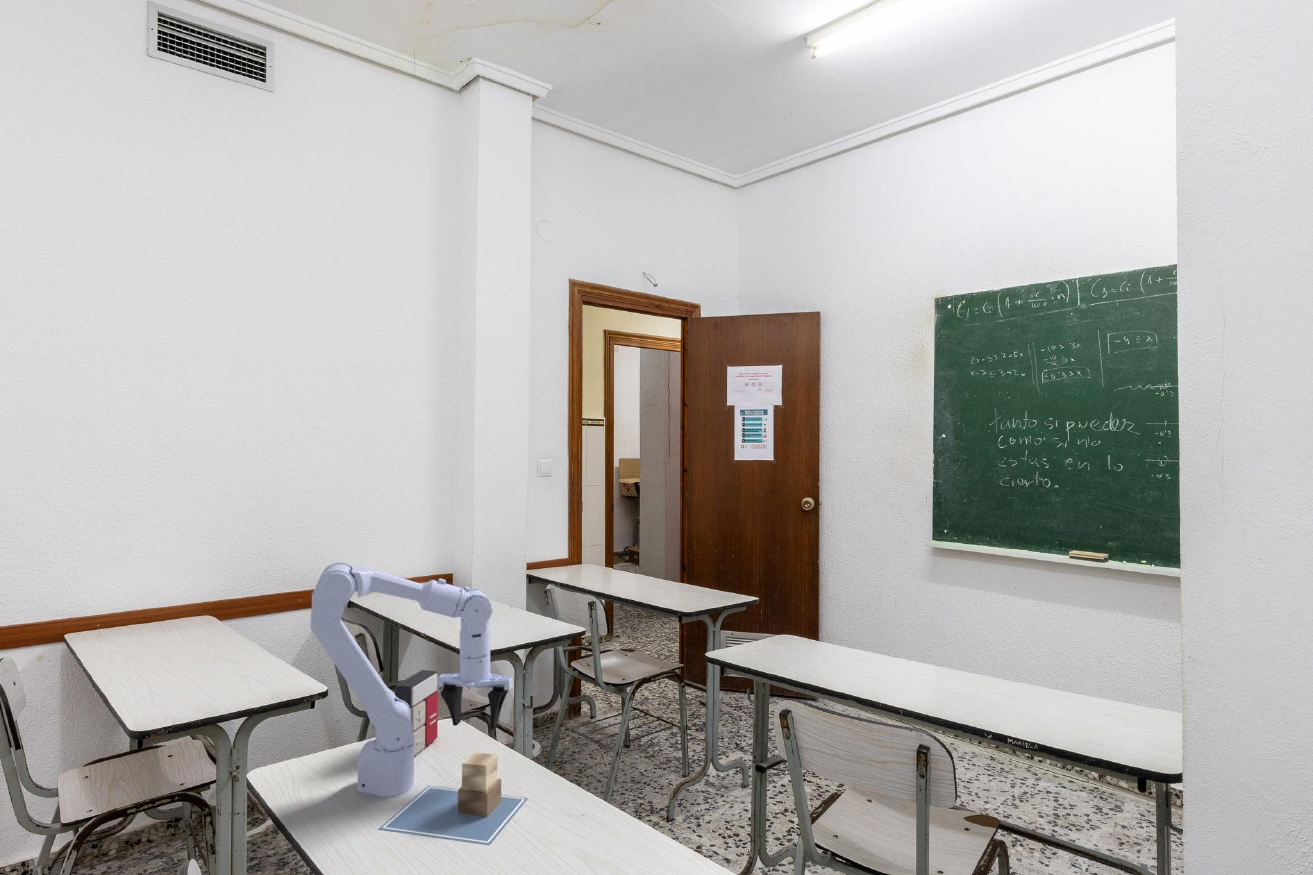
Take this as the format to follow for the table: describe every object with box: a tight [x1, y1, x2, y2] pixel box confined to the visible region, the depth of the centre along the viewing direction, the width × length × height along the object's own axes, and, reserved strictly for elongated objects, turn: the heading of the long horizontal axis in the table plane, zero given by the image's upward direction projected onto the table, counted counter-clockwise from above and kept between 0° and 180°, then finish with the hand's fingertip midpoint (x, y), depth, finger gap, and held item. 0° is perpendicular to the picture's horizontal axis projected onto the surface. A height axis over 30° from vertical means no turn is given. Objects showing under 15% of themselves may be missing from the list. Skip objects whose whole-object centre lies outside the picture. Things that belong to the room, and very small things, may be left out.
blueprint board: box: [377, 785, 529, 846], centre depth 123 cm, size 20×16×1 cm
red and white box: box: [394, 669, 439, 757], centre depth 151 cm, size 11×4×15 cm, turn 168°
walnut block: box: [457, 778, 502, 817], centre depth 125 cm, size 6×6×4 cm
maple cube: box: [461, 751, 498, 792], centre depth 125 cm, size 4×4×4 cm
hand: (475, 724), depth 137 cm, fingers open, 7 cm apart
